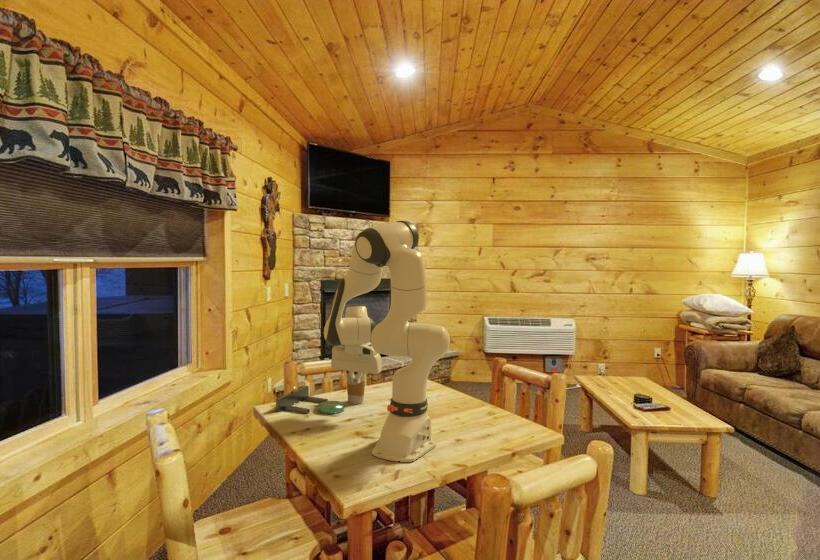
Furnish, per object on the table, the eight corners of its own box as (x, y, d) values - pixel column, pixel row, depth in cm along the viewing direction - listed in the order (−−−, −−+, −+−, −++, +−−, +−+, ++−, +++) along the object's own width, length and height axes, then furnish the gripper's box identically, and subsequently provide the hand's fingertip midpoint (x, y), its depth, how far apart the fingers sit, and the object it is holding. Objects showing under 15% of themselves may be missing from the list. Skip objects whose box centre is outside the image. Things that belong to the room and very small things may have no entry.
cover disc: (335, 416, 171) (335, 410, 171) (313, 413, 175) (313, 406, 175) (348, 408, 181) (348, 402, 180) (326, 405, 184) (326, 399, 184)
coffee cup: (355, 397, 194) (355, 363, 194) (369, 401, 189) (370, 366, 189) (341, 402, 187) (341, 366, 187) (356, 406, 183) (356, 369, 182)
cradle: (303, 415, 170) (303, 397, 170) (275, 411, 175) (275, 393, 175) (331, 400, 189) (331, 384, 189) (305, 397, 194) (305, 381, 193)
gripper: (328, 346, 173) (328, 381, 174) (376, 351, 166) (376, 388, 167) (336, 343, 179) (336, 377, 180) (383, 347, 172) (383, 383, 173)
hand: (356, 382), depth 174 cm, fingers closed
